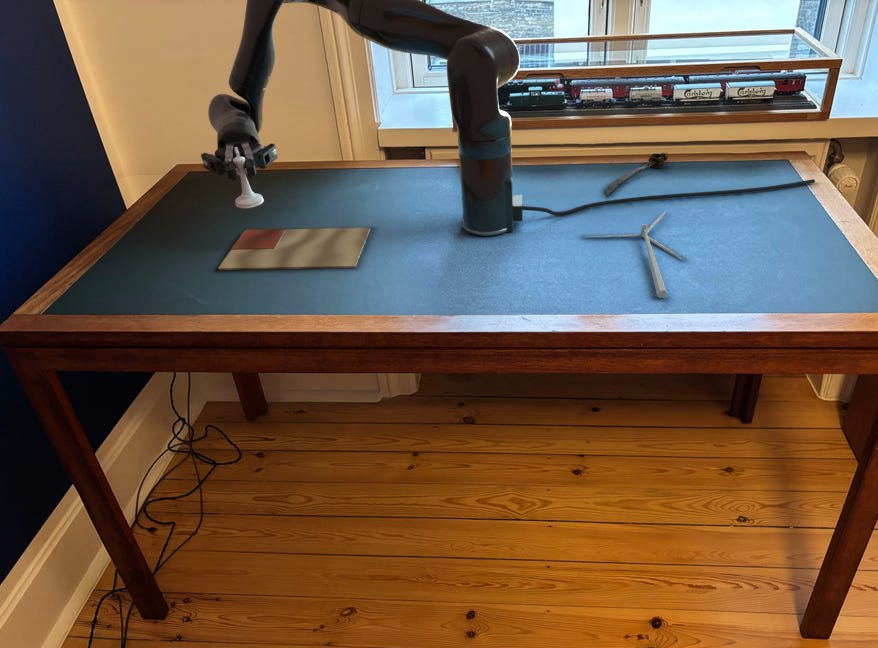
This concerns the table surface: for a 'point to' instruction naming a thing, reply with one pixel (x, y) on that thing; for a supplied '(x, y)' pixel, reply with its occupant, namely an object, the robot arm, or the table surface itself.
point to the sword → (638, 170)
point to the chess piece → (245, 186)
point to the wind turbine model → (651, 256)
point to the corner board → (296, 249)
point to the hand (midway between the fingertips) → (241, 174)
